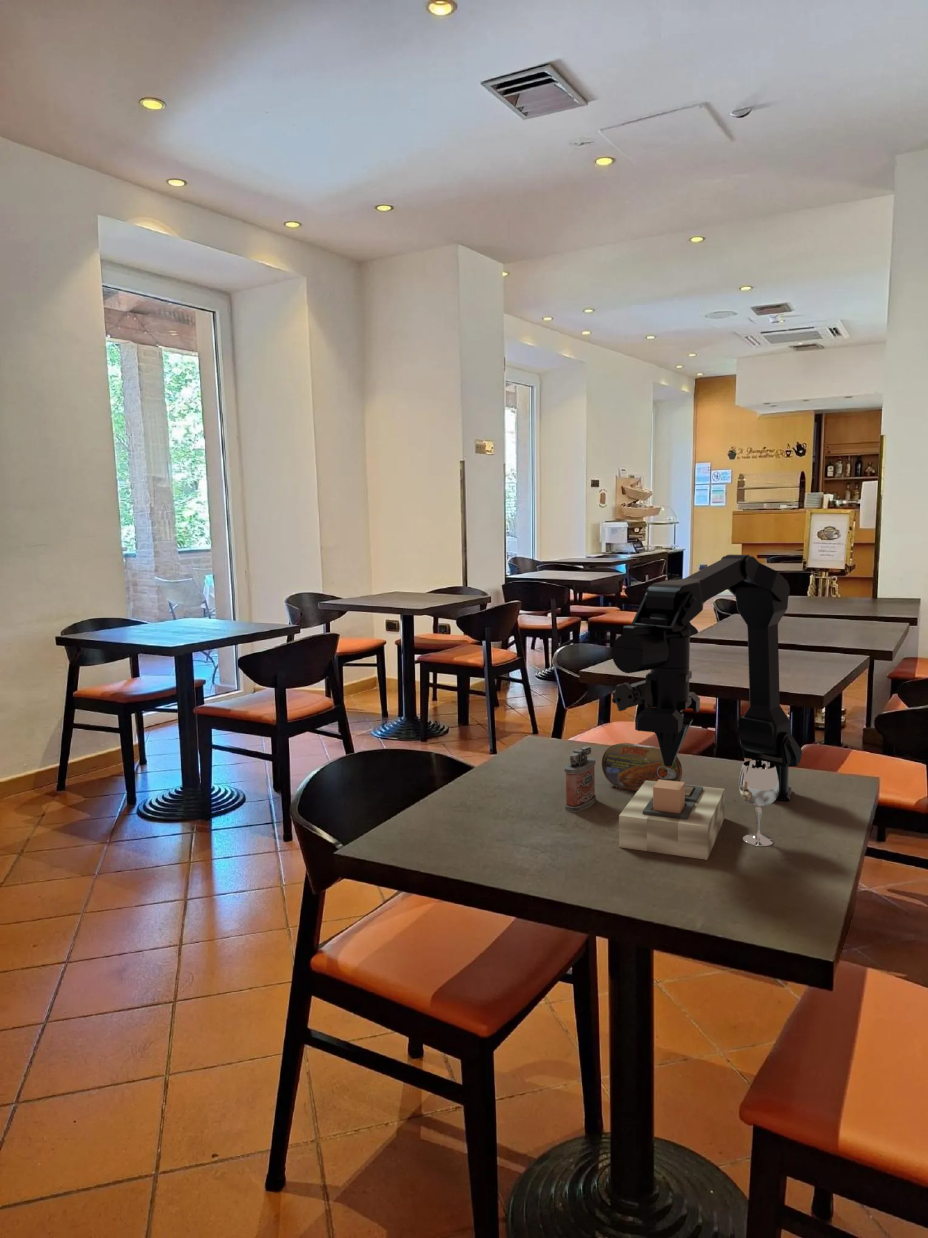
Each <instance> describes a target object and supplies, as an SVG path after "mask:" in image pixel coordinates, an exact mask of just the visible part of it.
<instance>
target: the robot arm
mask: <svg viewBox="0 0 928 1238" xmlns="http://www.w3.org/2000/svg"><path fill="white" fill-rule="evenodd" d="M790 590H791V589H790V585H789V583H788V580H787V579H785V578H784V576H783V575H782V574H780V573H779V572H778V571H777V570H776V569H773V568H771V567H770V566H767V565H766V564H763V563H761V562H759V561H758V560H757V558H756V557H754V556H752V555H750V554H726V555H723V556H722V557H721V558H720V559H719V560H718V561H716V562H714V563H712V564H710V565H708V566H706V567H704V568H702V569H700V570H698V571H696V572H694V573H692V574H691V575H689V576H687V577H685V578H684V577H683V578H680V579H679V578H678V579H670V580H663V581H659V582H654V583H652V584H650V585H649V586H648V587H647V589H646V592H645V594H644V595H643V598H642V601H641V602H640V605H639V607H638V609H637V610H636V611H637V612H636V614H635V615H634V618H633V619H632V622H631V625H624V626H623V628H622V634H620V635H619V636H618V637H617V638H615V641H614V642H613V646H612V647H611V657H612V661H613V663H614V665H615V667H617V669H618V670H620V671H621V672H622V673H625V674H633V673H639V672H646V671H648V673H647V674H646V675H645V680H641V681H637V682H634V683H631V684H630V683H629V682H624V683H621V684H620V683H619V684H617V685H615V689H614V690H613V691H611V692H612V693H611V695H612V698H611V702H612V703H613V704H616V708H617V710H618V711H619V712H622V711H625V710H627V709H628V708H632V707H636V706H639V705H642V704H644V709H643V710H642V711H641V712H639V713H638V714H637V715H636V716H635V719H634V720H635V721H634V723H635V724H634V728H635V729H634V730H635V731H638V732H647V733H654V734H655V736H656V738H657V741H658V745H659V746H658V747H660V750H661V754H662V758H663V762H664V765H665V766H669V767H671V766H672V765H673V763H674V761H675V758H676V756H677V757H678V753H679V751H680V749H681V746H682V744H683V742H684V740H685V738H686V736H687V733H688V732H689V729H690V727H691V725H692V723H693V720H694V719H693V718H691V717H684V710H687V709H688V710H689V709H690V710H692V712H693V713H698V712H699V711H700V710H701V697H700V696H698V695H697V694H696V693H695V692H694V691H690V680H691V679H692V678H693V676H692V675H693V671H692V670H690V655H691V654H690V653H691V652H690V651H691V649H690V648H691V647H690V645H691V636H695V635H697V634H698V633H699V630H698V629H697V628H696V626H694V625H693V624H692V623H691V621H692V620H694V619H695V618H696V617H697V616H698V615H699V614H700V613H701V612H702V611H703V610H704V604H705V603H706V602H707V601H709V600H711V599H713V598H714V597H716V596H717V595H719V594H721V593H723V592H725V591H728V592H730V593H731V594H732V595H733V596H734V597H735V603H736V610H737V612H738V614H739V615H740V617H741V618H742V619H743V621H744V623H745V624H746V626H747V652H748V653H747V654H748V659H747V660H748V685H749V686H748V688H749V689H748V690H749V691H748V692H749V695H748V696H749V707H748V708H747V710H746V711H745V713H744V715H743V716H740V717H739V719H738V721H737V724H738V736H737V739H738V740H739V743H740V744H739V745H740V749H741V754H742V758H743V759H749V760H761V761H767V762H771V763H773V764H775V767H776V771H777V775H778V780H779V792H778V796H777V798H776V800H778V801H785V802H786V801H790V798H791V795H792V787H790V786H789V768H790V767H799V764H800V762H801V759H802V754H803V750H802V748H801V746H799V743H797V741H796V739H795V738H794V736H793V734H792V728H791V720H790V719H789V717H788V716H787V714H786V713H785V711H784V709H783V708H782V706H781V703H780V702H781V701H780V661H779V659H780V658H779V653H780V652H779V623H780V622H781V620H782V619H783V616H785V613H786V611H787V610H788V608H789V607H788V606H789V605H788V604H789V597H790V593H791V591H790ZM649 670H650V672H649ZM776 800H775V801H776Z"/></svg>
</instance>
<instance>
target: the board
mask: <svg viewBox="0 0 928 1238" xmlns="http://www.w3.org/2000/svg"><path fill="white" fill-rule="evenodd" d="M655 784H656V781H647V780H646V781H645V782H644V783H643V785H642V786H641V787H640V789H639V790H638V791H636V792H635V794H634V795H632V797H631V799H630V800H629V802H628V803H627V804H626V806H625V807H624V808H623V810H621V813H620V814H619V815H618V829H619V831H618V834H619V835H618V844H619V845H618V846H619V848H622V849H623V848H624V849H630V850H636V851H637V850H638V851H643V852H651V853H658V854H665V855H672V856H677V857H678V856H679V857H686V858H692V859H699V860H700V859H701V860H705V861H707V860H708V859H709V857H710V854H711V852H712V850H713V847H714V845H715V843H716V839H717V838H718V834H719V832H720V830H721V827H722V825H723V822H724V820H725V802H726V801H725V797H726V796H725V788H720V787H712V786H711V787H709V786H700V785H691V784H685V787H694V792H693V794H692V796H691V797H688V796H685V808H684V810H683V812H682V814H681V813H673V812H664V811H656V810H653V787H654V785H655Z"/></svg>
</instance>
